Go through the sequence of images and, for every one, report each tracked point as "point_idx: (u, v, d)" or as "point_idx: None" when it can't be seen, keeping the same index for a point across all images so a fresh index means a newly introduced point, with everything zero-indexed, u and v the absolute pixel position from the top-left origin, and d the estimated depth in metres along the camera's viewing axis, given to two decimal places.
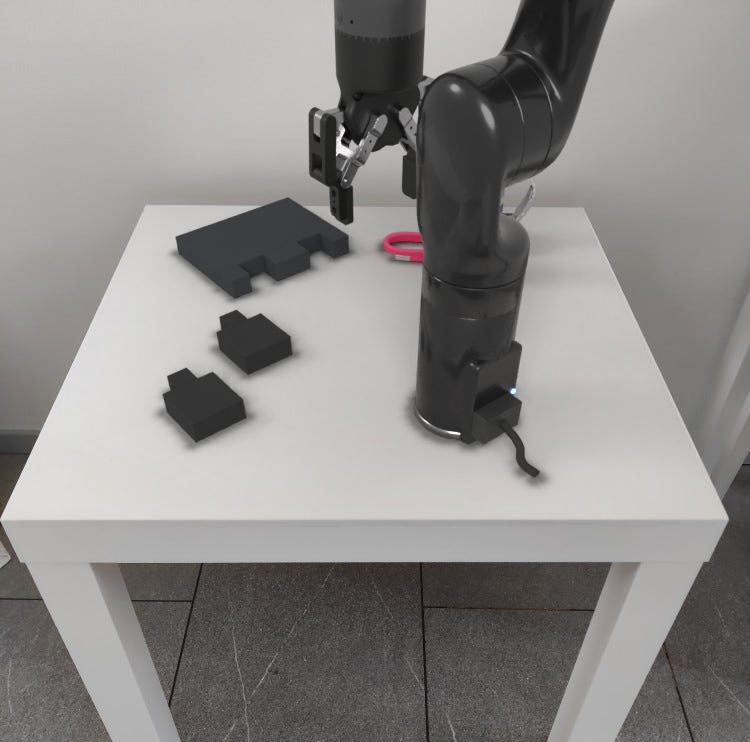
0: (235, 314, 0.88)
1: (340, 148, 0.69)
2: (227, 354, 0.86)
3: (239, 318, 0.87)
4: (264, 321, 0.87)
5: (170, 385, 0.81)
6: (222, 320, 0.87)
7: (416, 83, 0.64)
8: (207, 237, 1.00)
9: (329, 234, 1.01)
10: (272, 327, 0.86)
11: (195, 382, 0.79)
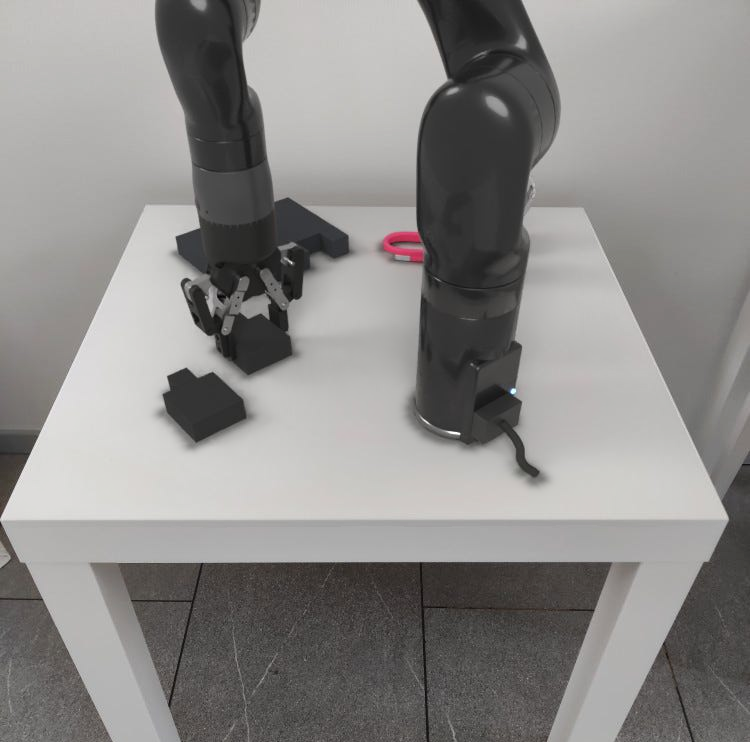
0: None
1: (217, 302, 0.81)
2: None
3: (239, 318, 0.87)
4: (264, 321, 0.87)
5: (170, 385, 0.81)
6: None
7: (269, 253, 0.76)
8: None
9: (329, 234, 1.01)
10: (272, 327, 0.86)
11: (195, 382, 0.79)
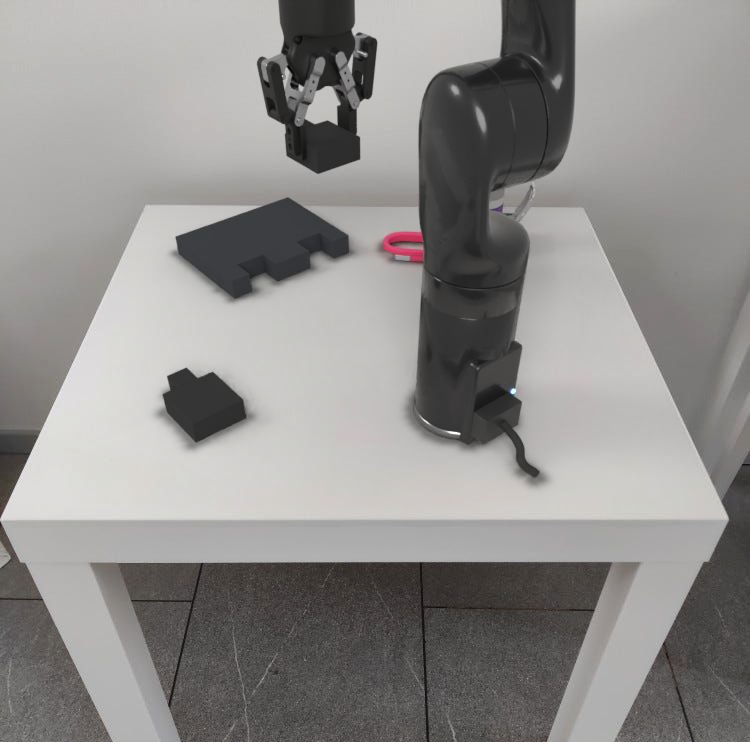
0: None
1: (290, 91, 0.80)
2: None
3: (306, 123, 0.86)
4: (332, 126, 0.86)
5: (170, 385, 0.81)
6: None
7: (348, 28, 0.75)
8: (207, 237, 1.00)
9: (329, 234, 1.01)
10: (341, 130, 0.85)
11: (195, 382, 0.79)
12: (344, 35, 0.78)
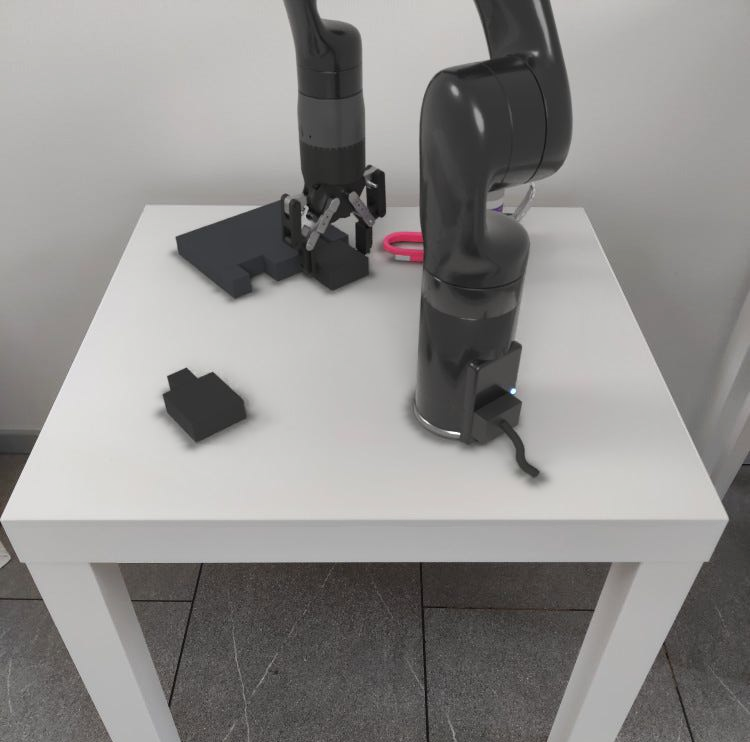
0: (317, 240, 1.00)
1: (305, 221, 0.91)
2: None
3: (321, 243, 0.99)
4: (344, 245, 0.99)
5: (170, 385, 0.81)
6: None
7: (360, 176, 0.87)
8: (207, 237, 1.00)
9: (329, 234, 1.01)
10: (351, 250, 0.98)
11: (195, 382, 0.79)
12: None
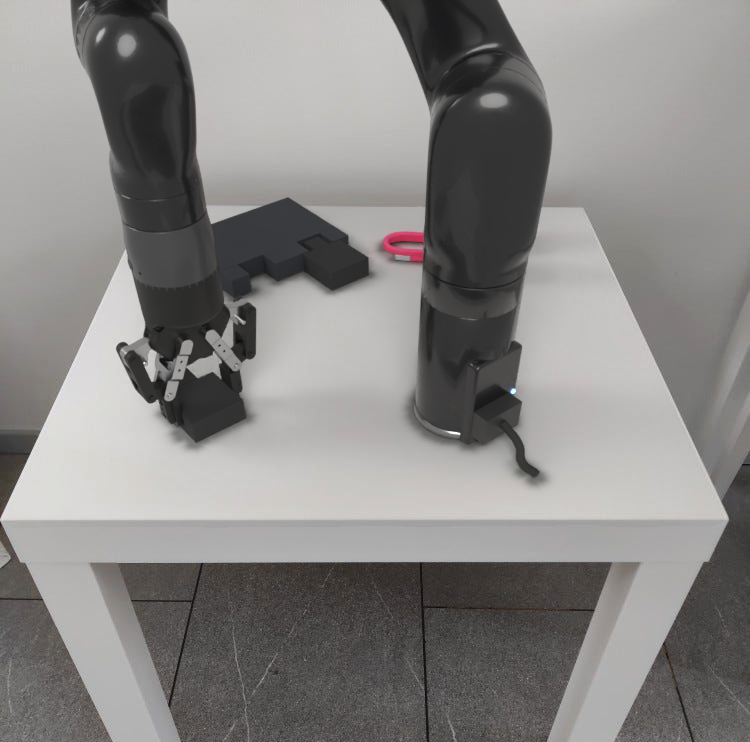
0: (317, 240, 1.00)
1: (159, 366, 0.73)
2: (312, 273, 0.98)
3: (321, 243, 0.99)
4: (344, 245, 0.99)
5: None
6: (306, 244, 0.99)
7: (213, 316, 0.69)
8: None
9: (329, 234, 1.01)
10: (351, 250, 0.98)
11: (195, 382, 0.79)
12: None
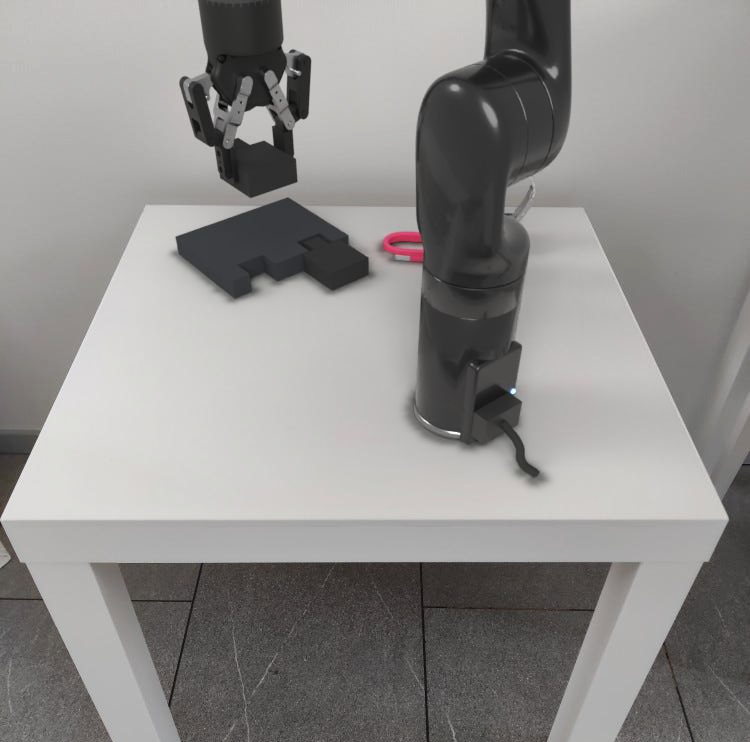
0: (317, 240, 1.00)
1: (218, 112, 0.75)
2: (312, 273, 0.98)
3: (321, 243, 0.99)
4: (344, 245, 0.99)
5: None
6: (306, 244, 0.99)
7: (275, 46, 0.71)
8: (207, 237, 1.00)
9: (329, 234, 1.01)
10: (351, 250, 0.98)
11: (248, 147, 0.82)
12: (273, 53, 0.74)
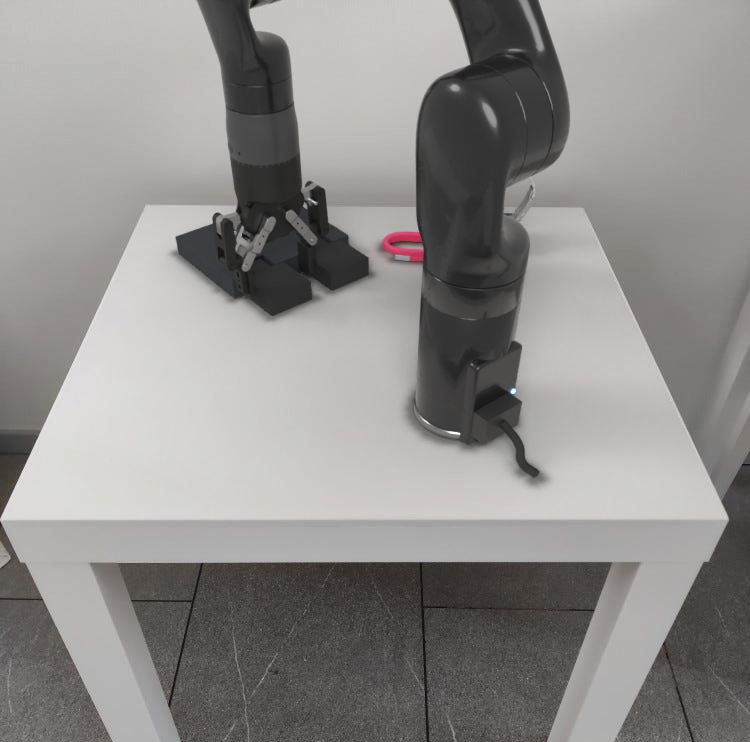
0: (317, 240, 1.00)
1: (241, 240, 0.87)
2: (312, 273, 0.98)
3: (321, 243, 0.99)
4: (344, 245, 0.99)
5: None
6: None
7: (295, 194, 0.83)
8: (207, 237, 1.00)
9: (329, 234, 1.01)
10: (351, 250, 0.98)
11: (269, 269, 0.95)
12: None
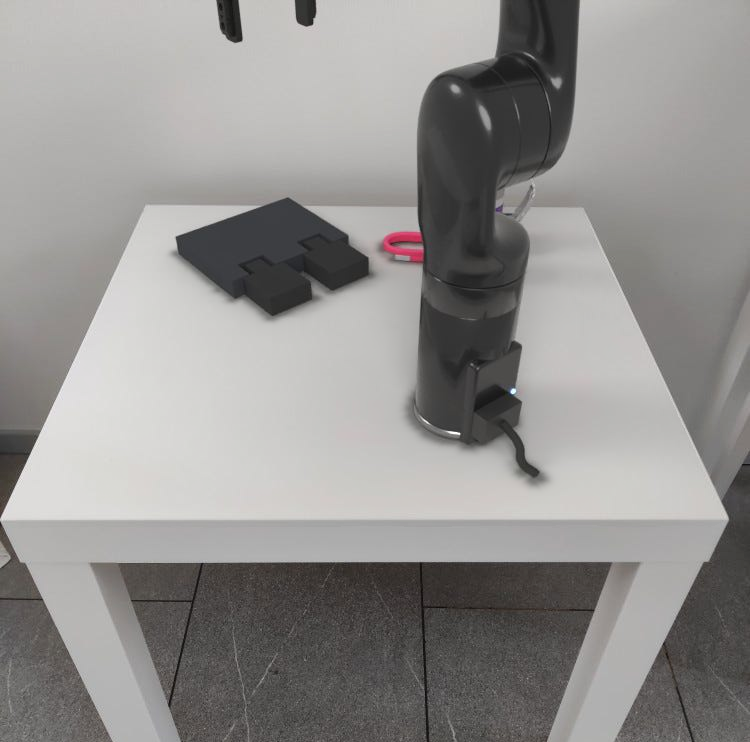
0: (317, 240, 1.00)
1: None
2: (312, 273, 0.98)
3: (321, 243, 0.99)
4: (344, 245, 0.99)
5: None
6: (306, 244, 0.99)
7: None
8: (207, 237, 1.00)
9: (329, 234, 1.01)
10: (351, 250, 0.98)
11: (269, 269, 0.95)
12: None
